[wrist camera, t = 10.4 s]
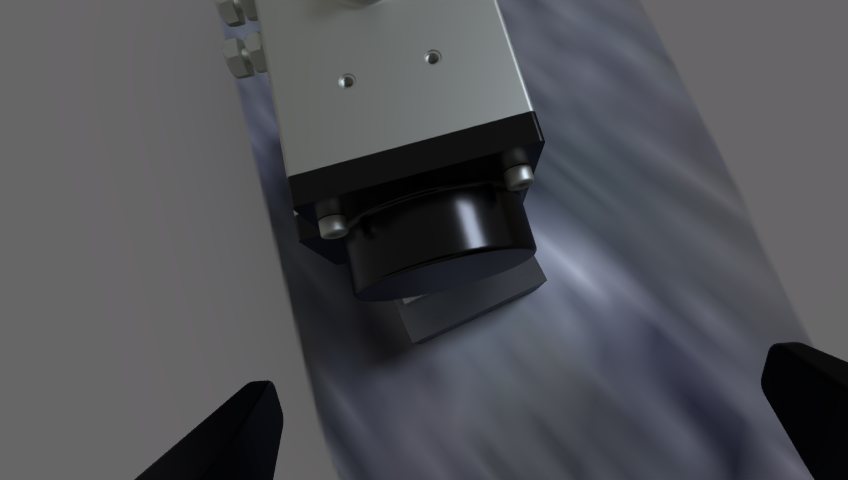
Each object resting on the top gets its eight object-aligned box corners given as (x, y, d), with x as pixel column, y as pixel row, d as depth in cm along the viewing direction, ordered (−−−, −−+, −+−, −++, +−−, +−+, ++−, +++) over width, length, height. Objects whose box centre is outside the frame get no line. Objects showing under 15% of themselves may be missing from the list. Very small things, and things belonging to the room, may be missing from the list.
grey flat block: (537, 289, 22) (549, 278, 18) (420, 343, 22) (410, 343, 18) (406, 40, 25) (396, -8, 22) (306, 86, 25) (281, 46, 22)
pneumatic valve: (440, 41, 21) (404, -330, 10) (514, 291, 18) (587, 195, 7) (324, 74, 21) (149, -251, 10) (378, 326, 19) (224, 290, 7)
